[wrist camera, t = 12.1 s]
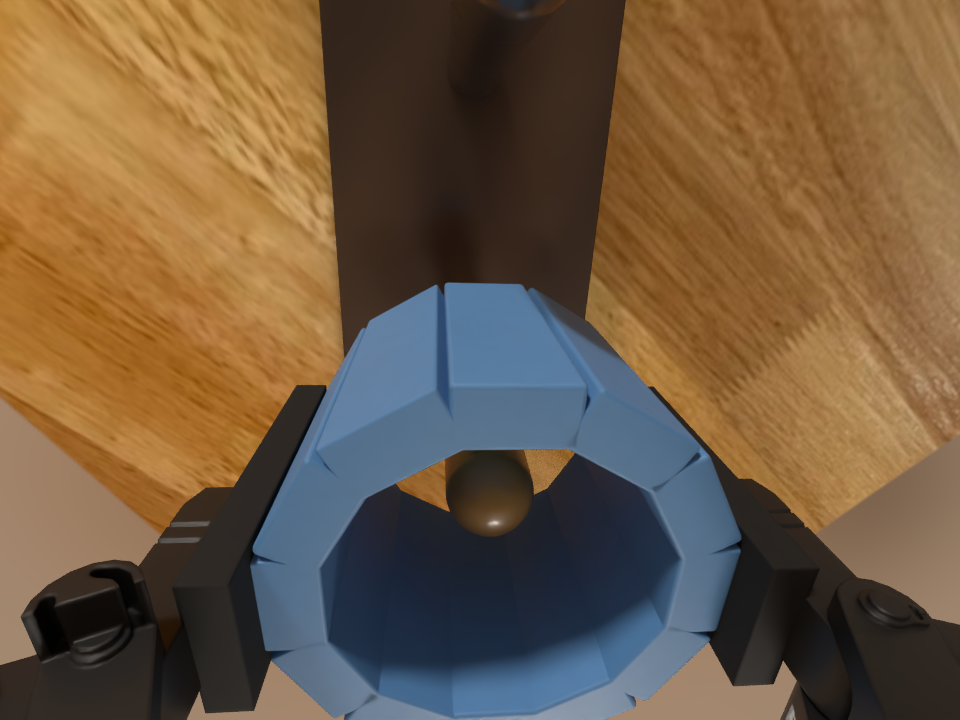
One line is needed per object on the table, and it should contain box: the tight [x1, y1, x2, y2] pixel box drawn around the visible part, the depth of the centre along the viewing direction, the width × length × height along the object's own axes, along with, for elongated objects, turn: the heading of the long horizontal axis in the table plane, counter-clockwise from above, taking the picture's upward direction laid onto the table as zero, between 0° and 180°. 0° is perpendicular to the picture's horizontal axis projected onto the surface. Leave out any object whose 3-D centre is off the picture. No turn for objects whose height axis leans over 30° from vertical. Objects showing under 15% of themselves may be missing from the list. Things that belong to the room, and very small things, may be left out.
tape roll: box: [250, 283, 741, 720], centre depth 11 cm, size 8×8×6 cm
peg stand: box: [319, 0, 626, 537], centre depth 15 cm, size 11×19×14 cm, turn 178°
